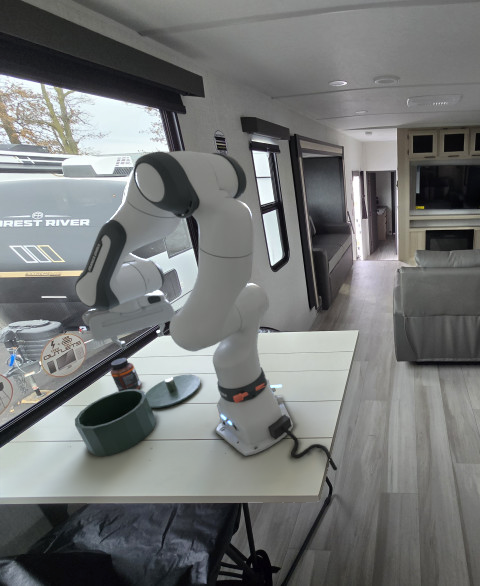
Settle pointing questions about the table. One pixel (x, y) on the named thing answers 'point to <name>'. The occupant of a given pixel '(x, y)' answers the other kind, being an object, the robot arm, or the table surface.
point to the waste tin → (115, 422)
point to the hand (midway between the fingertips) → (143, 341)
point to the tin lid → (172, 390)
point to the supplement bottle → (124, 375)
